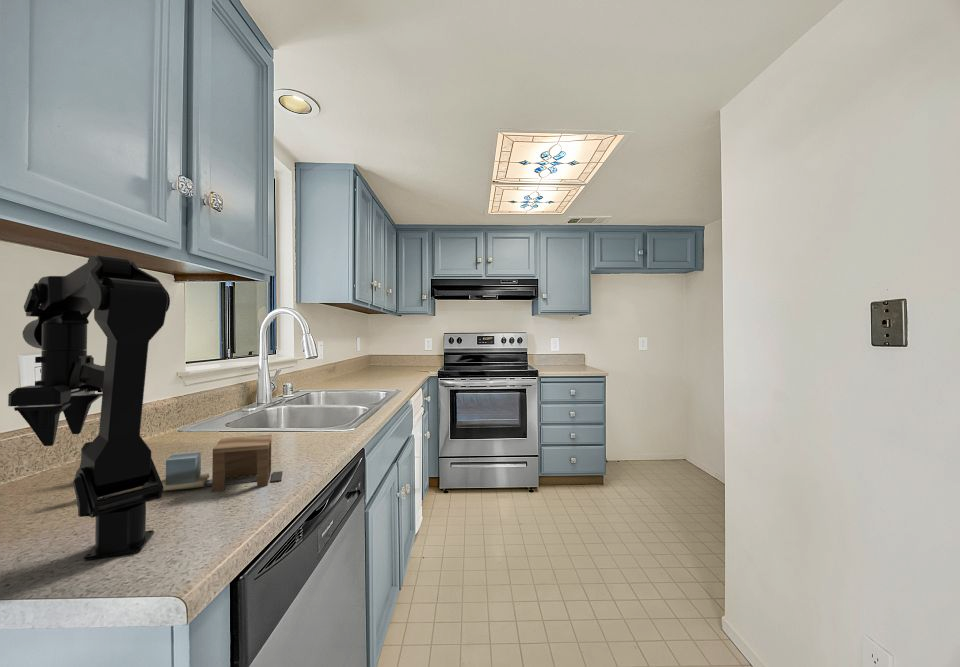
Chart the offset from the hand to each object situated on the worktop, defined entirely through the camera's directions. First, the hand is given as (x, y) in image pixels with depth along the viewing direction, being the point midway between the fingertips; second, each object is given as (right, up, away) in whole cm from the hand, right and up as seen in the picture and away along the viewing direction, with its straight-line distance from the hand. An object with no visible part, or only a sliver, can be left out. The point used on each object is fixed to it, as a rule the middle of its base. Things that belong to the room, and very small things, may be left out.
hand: (63, 439), depth 74 cm
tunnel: (+22, -13, +18) cm, 31 cm away
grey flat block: (+28, -13, +20) cm, 37 cm away
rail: (+12, -13, +13) cm, 22 cm away
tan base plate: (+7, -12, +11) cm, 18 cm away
